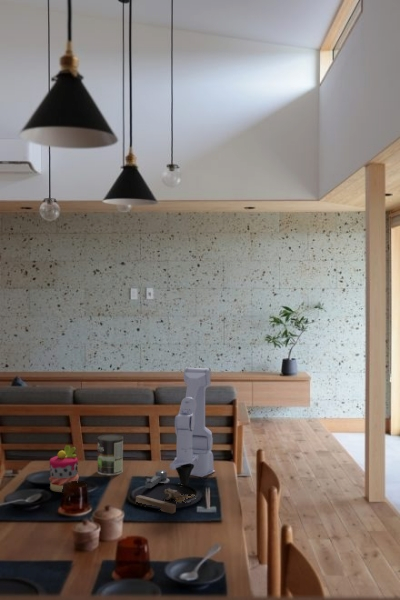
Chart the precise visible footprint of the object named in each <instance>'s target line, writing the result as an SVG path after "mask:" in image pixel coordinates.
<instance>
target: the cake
mask: <svg viewBox="0 0 400 600" xmlns="http://www.w3.org/2000/svg"><path fill="white" fill-rule="evenodd" d="M63 449H64V450H63ZM63 449H61V450H59V451H58V452H57V455H55V456H53V457H50V459H49V469H50V471H49V472H50V477H49V478H48V480H49V481H50V483H49V484H50V486H49V488H50V490H51V491H53V492H57V493H63V492H62V489H63V484H64V483H67V482H71V481H77V482H78V481H79V477H80V476H79V474H78V473H79V470H78V465H79V464H78V463H79V460H78V458H77V454H75V452H76V447H75V446H72V447H71V446H70V445H65V446H64V448H63Z"/></svg>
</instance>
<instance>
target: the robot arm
mask: <svg viewBox="0 0 400 600" xmlns="http://www.w3.org/2000/svg"><path fill="white" fill-rule="evenodd" d="M211 375H212V373H211V369H210V368H209V367H204V368H203V367H189V366H188V367H187V366H186V367H185V369H184V371H183V382H184V383H185V385H186V391H185V397H184V398H183V399H182V400H181V403H180V406H179V411H178V414H177V415H175V418H174V429H175V435H176V457H174V460H173V461H172V462H171V463H169V470H172V471H176V472H177V474H178V478H179V480H180V484H181V485H183V486H187V485H189V481H190V477H191V476H193V477H194V476H196V477H200V478H203V477H206V476H208V475H210V474H212V473H215V472H216V470H214V454H213V452H212V449H213V443H214V438H213V433H212V432H213V431H211V430H210V429H209V428H208V427H206V390H207V388H209V387H211Z"/></svg>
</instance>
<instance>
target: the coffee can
mask: <svg viewBox="0 0 400 600" xmlns="http://www.w3.org/2000/svg"><path fill="white" fill-rule="evenodd" d="M123 448H124V436H123V435H121V434H114V433H113V434H111V433H109V434H103V435H99V436H97V474H99V475H101V476H108V477H109V476H117V475H120V474H123V471H124V470H123V469H124V468H123V467H124V466H123V462H124V461H123V458H124V457H123V455H124V449H123Z"/></svg>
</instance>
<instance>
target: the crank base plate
mask: <svg viewBox="0 0 400 600" xmlns="http://www.w3.org/2000/svg"><path fill="white" fill-rule="evenodd" d="M159 483H164V484H168V483H170V479H169V478H168V477H167V480H164V481H160V482H159Z"/></svg>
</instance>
